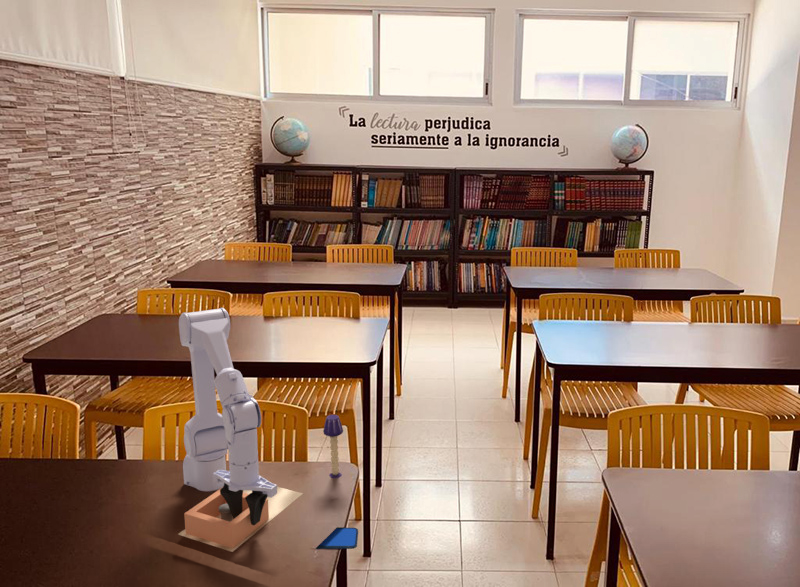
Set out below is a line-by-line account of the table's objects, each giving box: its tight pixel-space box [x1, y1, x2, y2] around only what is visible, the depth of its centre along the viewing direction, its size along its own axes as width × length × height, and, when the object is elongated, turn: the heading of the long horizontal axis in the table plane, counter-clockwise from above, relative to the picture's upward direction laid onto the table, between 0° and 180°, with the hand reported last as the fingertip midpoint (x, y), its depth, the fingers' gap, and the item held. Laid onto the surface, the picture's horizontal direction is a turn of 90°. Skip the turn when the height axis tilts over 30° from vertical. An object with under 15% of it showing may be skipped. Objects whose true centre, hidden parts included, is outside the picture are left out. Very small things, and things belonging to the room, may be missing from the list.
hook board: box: [177, 486, 304, 553], centre depth 147 cm, size 14×25×6 cm, turn 155°
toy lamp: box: [322, 414, 344, 479], centre depth 163 cm, size 5×5×17 cm
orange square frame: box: [183, 487, 269, 548], centre depth 142 cm, size 12×12×4 cm
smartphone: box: [315, 526, 359, 550], centre depth 141 cm, size 7×1×15 cm
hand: (246, 519), depth 140 cm, fingers open, 4 cm apart
